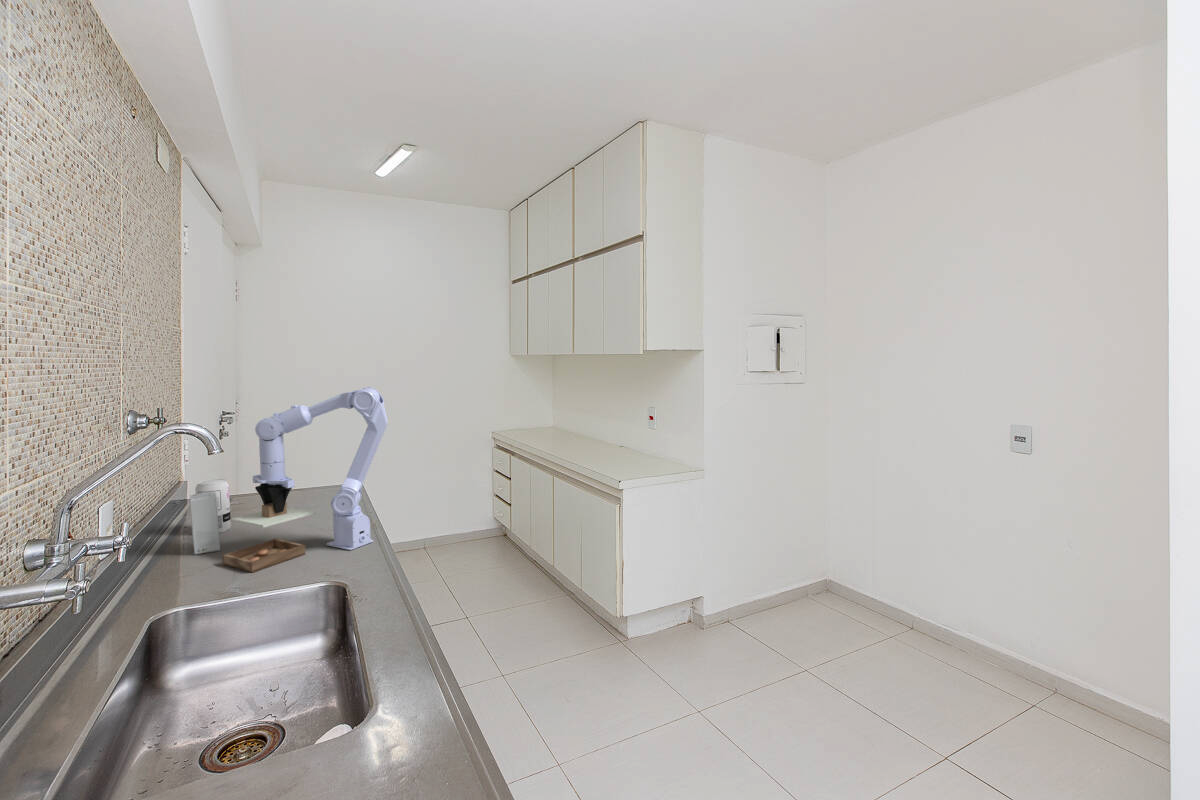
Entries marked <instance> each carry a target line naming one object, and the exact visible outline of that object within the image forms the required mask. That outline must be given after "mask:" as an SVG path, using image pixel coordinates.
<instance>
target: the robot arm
mask: <svg viewBox="0 0 1200 800" xmlns="http://www.w3.org/2000/svg"><path fill="white" fill-rule="evenodd" d="M382 396H383V395H381V393H380V391H379V390H378V389H377V388H375V387H371V386H366V387H363V388H362V389H355V390H351V391H348V392H347V391H346V392H342V393H340V394H337V395H336V396H335V395H334V396H332V397H330V398H328V399H325V400H324V401H320V402H318V403H316V404H313V405H311V406H307V405H303V404H300V405H298V404H294V405H291V406H290V408H289V409H287V410H283V411H282V412H278V411H276V412H274V413H272V416H269V417H264V418H263V419H261V420H259V421H258V422H257V423H256V425H255V428H254V430H255V434H256V436H257V437H258V438H259V441H258V442H259V447H258V449H259V465H260V469H259V470H260V471H259V472H260V474H256V475H252V483H253V484H259V485H256V486H255V491H256V492H257V493H258V495H259V497H260V498H261V500H262V503H263V504H262V505H266V504H270V503H273V508H274V512H275V513H279V512H283V511H284V507H285V503H287V499H288V497H289V494H290V492H291V490H292V488H295V487H296V483H295V481H296V480H295V479H294V478H293V479H292V478H291V477H288V476H286V461H285V459H286V458H285V444H284V434H288V433H291V432H292V433H293V432H294V431H297V430H299V429H301V428H304V427H306V426H309V425H311V424H312V423H313V420H314V419H315V418H317V417H319V416H321V415H324V414H327V413H329V412H333V411H335V410H338V409H342V408H343V409H347V410H351V409H353V408H354V409H355V411H356V412H358V413H359V414H360V415H362V417H363V419H364V420H365V422H366V424H367V427H366V429H365V432H364V434H363V437H362V438H361V441H360V444H359V446H358V448H357V450H356V454H355V456H354V457H353V461H352V462H351V465H350V468H349V469H348V473H347V474H346V478H345V479H344V481H343V483H342V485H341V487H340V489H339V490H338V492H337V493H336V494H335V495H334V496H333V497H332V498H331V500H330V507H331V510H332V523H333V524H332V527H333V540H332V541H329V542H327V543H326V546H329V547H334V548H338V549H341V550H342V549H344V550H346V551H347V550H348V551H352V550H354V549H358V548H359V547H360V548H361V547H363V546H365V545H367V544H370V543H373V542H374V540H373V539H371V537H372V536H371V521H370V518H369V517H368V516H367V515H365V514H364V513H363V512H362V508H361V506H360V505H359V503H360V501H361V500H362V495H363V494H362V488H363V486H364V482H365V479H366V477H367V474H368V472H369V469H370V467H371V465H372V462H373V460H374V457H375V456H376V452H377V450H378V449H379V448H378V447H379V445H380V443H381V441H382V438H383V436H384V434H385V431H386V429H387V426H388V423H389V422H388V421H389V420H388V415H387V412H386V408H385V400H384V398H383V397H382Z"/></svg>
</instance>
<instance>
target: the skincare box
mask: <svg viewBox="0 0 1200 800" xmlns="http://www.w3.org/2000/svg"><path fill="white" fill-rule="evenodd" d="M189 498H190V500H189V506H190V521H191V523H190V524H191V525H190V526H191V535H192V543H193V544H192V545H193V551H194V552H193V553H194V555H200V554H204V553H215V552H219V551H221V542H220V533H219V530H218V516H217V502H216V493H215V492H209V493H202V494H196V493H195V494H191V495H190V497H189Z"/></svg>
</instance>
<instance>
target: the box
mask: <svg viewBox="0 0 1200 800" xmlns="http://www.w3.org/2000/svg"><path fill="white" fill-rule="evenodd" d="M305 555H306V544H301V543H299V542H298V543H297V542H292V541H289V540H288V541H287V540H284V539H280V538H279V539H278V538H274V539H269V540H267V541H263V542H260V543H257V544H253V545H250V546H247V547H243V548H240V549H237V550H234V551H229V552H227V553H223V554H221V560H222V561H221V562H222V565H223V566H227V567H230V568H234V569H237V570H240V571H244V572H247V573H251V574H253V573H254V574H255V573H257V572H259V571H262V570H265V569H267V568H271V567H274V566H276V565H279V564H282V563H284V562H288V561H291V560H294V559H295V558H299V557H302V556H305Z"/></svg>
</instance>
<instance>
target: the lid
mask: <svg viewBox="0 0 1200 800" xmlns="http://www.w3.org/2000/svg"><path fill="white" fill-rule="evenodd" d="M287 505H288V502H286V503H285V507H284V511H283V512H279V513H275V512H274V508H273V503H270V504H266V505H264V504H262V505H261V511H258V512H254V513H250V514H246V515H241V516H237V517H233V518H231V522H235V523H240V524H245V525H249V526H253V527H259V528H267V527H270V526H274V525H278V524H282V523H285V522H288V521H289V522H290V521H293V520H296V519H300V518H304V517H308V516H312V515H315V514H316V513H317V512H316V511H317V510H311V509H310V510H309V509H304V508H298V507H295V506H294V507H292V506H287Z"/></svg>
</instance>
